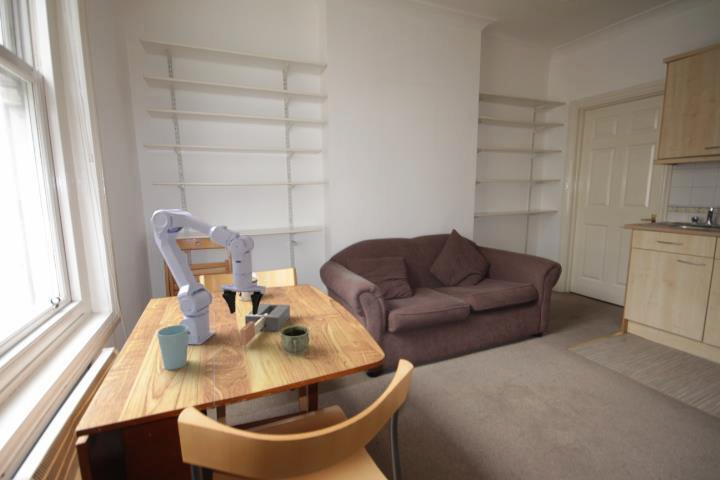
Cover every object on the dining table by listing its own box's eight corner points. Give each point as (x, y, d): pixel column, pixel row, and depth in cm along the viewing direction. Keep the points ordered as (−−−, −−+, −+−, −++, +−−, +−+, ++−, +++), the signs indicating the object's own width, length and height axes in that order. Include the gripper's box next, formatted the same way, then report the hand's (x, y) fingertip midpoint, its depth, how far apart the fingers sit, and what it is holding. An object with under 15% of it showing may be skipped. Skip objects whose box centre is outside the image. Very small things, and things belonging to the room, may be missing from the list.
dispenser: (277, 331, 117) (277, 316, 116) (245, 330, 118) (244, 314, 118) (289, 317, 131) (289, 302, 131) (260, 315, 132) (260, 301, 132)
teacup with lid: (237, 296, 158) (236, 272, 156) (257, 294, 161) (257, 271, 159) (237, 304, 146) (236, 278, 145) (259, 302, 149) (258, 277, 148)
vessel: (281, 342, 109) (281, 324, 108) (308, 340, 111) (308, 322, 110) (280, 360, 97) (279, 339, 96) (310, 357, 99) (310, 337, 98)
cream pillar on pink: (245, 345, 103) (245, 330, 102) (240, 345, 103) (240, 329, 103) (269, 321, 123) (268, 308, 122) (264, 321, 123) (264, 308, 122)
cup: (171, 357, 98) (168, 324, 96) (196, 358, 97) (194, 325, 96) (153, 371, 90) (150, 335, 89) (180, 372, 90) (178, 336, 88)
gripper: (268, 271, 110) (269, 310, 112) (227, 269, 112) (229, 308, 114) (260, 276, 103) (261, 317, 105) (216, 274, 105) (218, 315, 107)
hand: (244, 313), depth 109 cm, fingers open, 7 cm apart
